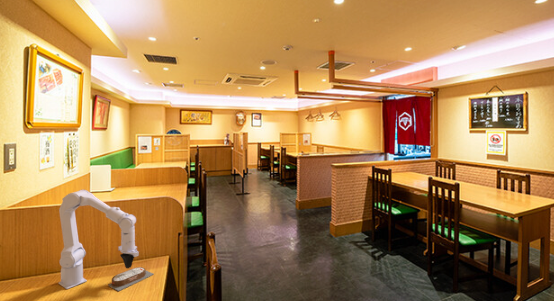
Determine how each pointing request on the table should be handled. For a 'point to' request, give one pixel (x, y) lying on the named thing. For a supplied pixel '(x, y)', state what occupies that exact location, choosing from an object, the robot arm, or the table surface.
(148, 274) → the slate mat
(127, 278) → the tin
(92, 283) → the table surface
